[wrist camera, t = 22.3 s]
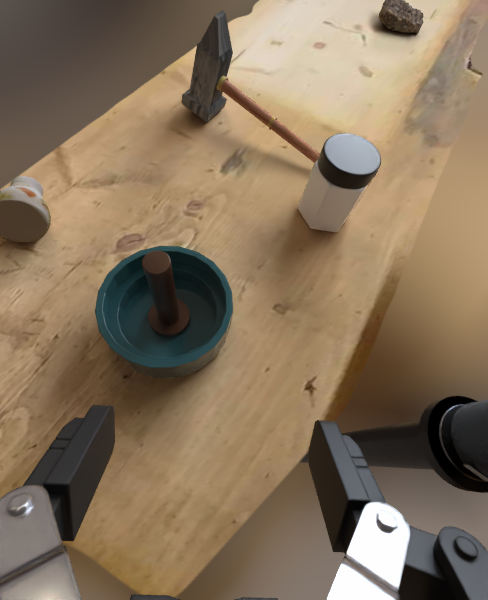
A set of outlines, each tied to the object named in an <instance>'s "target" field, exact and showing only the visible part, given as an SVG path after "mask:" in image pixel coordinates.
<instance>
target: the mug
mask: <svg viewBox="0 0 488 600" xmlns="http://www.w3.org/2000/svg"><path fill="white" fill-rule="evenodd" d="M42 197H43V188H42V186H41V184H40V183H39V182H38V181H36V180H35V179H33V178H30V177H26V176H20V177H17V178H15V179H14V180H13V181H12V182H11V185H10V187H8V188H5V189H3V190H1V191H0V235H1V236H3V237H5V238H6V239H8V240H13V241H20V242H33V241H36V240H38V239H40V238H42V237H43V236H44V234H45V233H46V232H47V230H48V229H49V226H50V220H51V217H50V212H49V209H48V207H47V205H46V203H45V201H44V200H43V198H42Z"/></svg>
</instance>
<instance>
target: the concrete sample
mask: <svg viewBox="0 0 488 600" xmlns="http://www.w3.org/2000/svg"><path fill="white" fill-rule="evenodd" d="M379 18H380V21H381V22H383V23H385V25H386V26H387V28H389V29H392V31H398V32H399V31H400V32H409V33H412V31H413V32H416V33H418V32H419V30H420V28H421V26H422V24H423V20H422V18H423V13H421V11H420V10H417V9H414V8H412V6H410V5H409V3H406V2H405V0H385V2H384V3H383V6H382V9H381V11H380V13H379Z"/></svg>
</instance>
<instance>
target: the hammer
mask: <svg viewBox="0 0 488 600" xmlns="http://www.w3.org/2000/svg"><path fill="white" fill-rule="evenodd" d="M232 54H233V51H232V47H231V41H230V36H229V30H228V24H227V19H226V14H225V13H224V12H223V11H221V12H220V13H218V14H217V15H215V16H214V18H213V20H212V22H211V23H210V25H209V27H208V29H207V31H206V33H205V35H204V36H203V38H202V40H201V42H200V43H198V44H197V49H196V55H195V61H194V67H193V73H192V79H191V86H190V89H189V90H188V91H186V92H185V93H184V94H183V95H182V102H181V103H182V104H183V105H184V106H186V107H187V108H188V109H189V110H191V111H192V112H193V113H195V114H196V115H197V116H199V117H200V118H201V119H202V120H204V121H205V122H208V121H209V120H210V119H211V118H212V117H214V116H215V115H216V114H217V113H218V112H219V111H220V110H221V109H222V108H223V107H224V106H225V103H226V100H227V99H226V98H225V97H223V96H222V92H224V93H226V94H227V95H228V96H229V97H231V98H232V99H233V100H235V101H236V102H237V103H238V104H240V105H241V106H242V107H244V108H245V109H246V110H247V111H249V112H250V113H251V114H253V115H254V116H255V117H256V118H258V119H259V120H260V121H262V122H263V123H264V124H265V125H267V126H268V127H269V129H270V130H271V129H272V130H273V131H274V132H276V133H277V134H278V135H279V136H281V137H282V138H283V139H285V140H286V141H287V142H288V143H290V144H291V145H292V146H294V147H295V148H296V149H297V150H299V151H300V152H301V153H303V154H304V155H305V156H306V157H308V158H309V159H310V160H312V161H313V162H314V163H315V162H316V161H317V160H318V159H319V156H320V154H319V153H318V152H317V151H316V150H314V149H313V148H312V147H311V146H309V145H308V144H307V143H306V142H304V141H303V140H302V139H301V138H299V137H298V136H297V135H295V134H294V133H293V132H292V131H290V130H289V129H288V128H287V127H285V126H284V125H283V124H282V123H280V122H279V121H278V120H277V118H274V117H273V116H271V115H270V114H269V113H268V112H266V111H265V110H264V109H263V108H261V107H260V106H259V105H258V104H256V103H255V102H254V101H253V100H251V99H250V98H249V97H247V96H246V95H245V94H244V93H242V92H241V91H240V90H239V89H237V88H236V87H235V86H234V85H232V84H231V83H230V82H229V81H228V78H226V77H227V73H228V69H229V65H230V62H231V58H232Z"/></svg>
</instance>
